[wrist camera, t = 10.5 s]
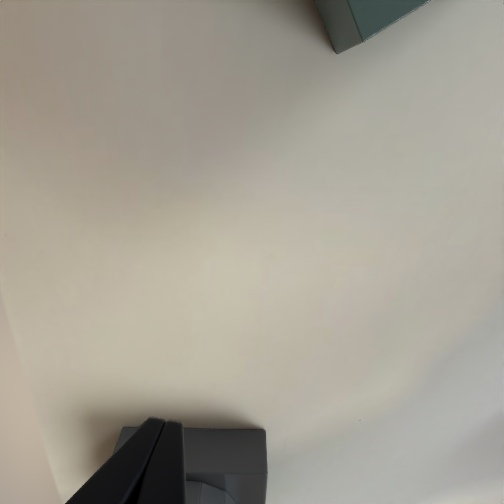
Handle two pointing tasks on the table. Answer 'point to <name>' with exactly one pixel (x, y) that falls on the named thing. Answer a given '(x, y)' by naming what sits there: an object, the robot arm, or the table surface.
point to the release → (221, 465)
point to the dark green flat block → (361, 18)
